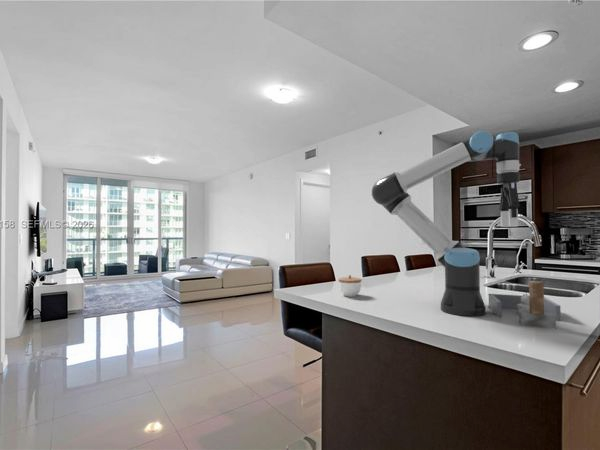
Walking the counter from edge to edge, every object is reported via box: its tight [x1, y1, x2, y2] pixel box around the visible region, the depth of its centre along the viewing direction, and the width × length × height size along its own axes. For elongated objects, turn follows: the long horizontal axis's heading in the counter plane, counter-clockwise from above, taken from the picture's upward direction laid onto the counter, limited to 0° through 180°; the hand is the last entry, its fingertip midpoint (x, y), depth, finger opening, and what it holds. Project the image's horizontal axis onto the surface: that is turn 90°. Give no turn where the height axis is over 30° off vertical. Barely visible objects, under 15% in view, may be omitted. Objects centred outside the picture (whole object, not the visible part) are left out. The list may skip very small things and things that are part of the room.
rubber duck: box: [517, 292, 530, 312], centre depth 115 cm, size 5×7×8 cm
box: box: [488, 293, 562, 322], centre depth 117 cm, size 18×15×5 cm
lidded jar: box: [338, 274, 362, 298], centre depth 150 cm, size 11×11×9 cm
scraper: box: [518, 280, 557, 329], centre depth 101 cm, size 9×3×14 cm, turn 69°
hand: (509, 226), depth 125 cm, fingers open, 13 cm apart
